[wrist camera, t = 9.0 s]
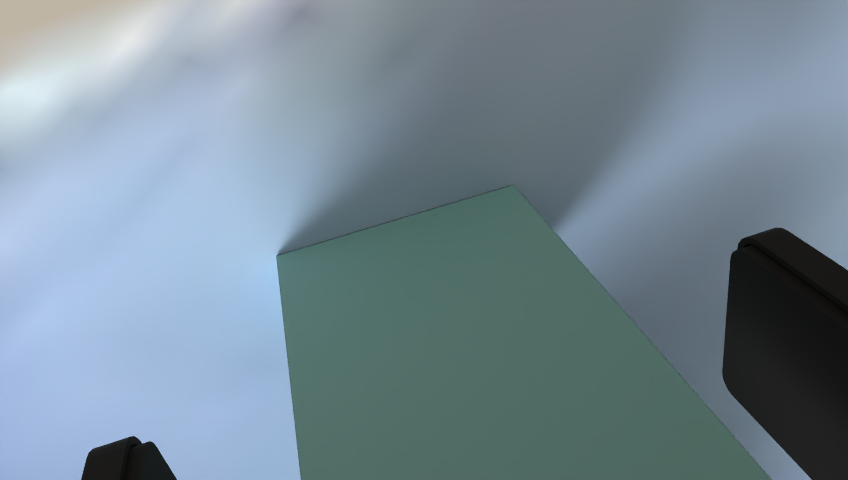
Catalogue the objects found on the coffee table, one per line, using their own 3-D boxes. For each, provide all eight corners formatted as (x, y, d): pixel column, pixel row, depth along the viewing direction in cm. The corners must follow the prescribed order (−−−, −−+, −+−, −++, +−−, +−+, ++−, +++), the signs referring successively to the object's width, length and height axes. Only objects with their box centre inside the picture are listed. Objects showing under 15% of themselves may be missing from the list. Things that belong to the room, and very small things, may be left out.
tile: (524, 263, 14) (926, 815, 6) (305, 332, 14) (415, 1044, 6) (513, 185, 13) (983, 721, 5) (276, 256, 13) (356, 994, 4)
